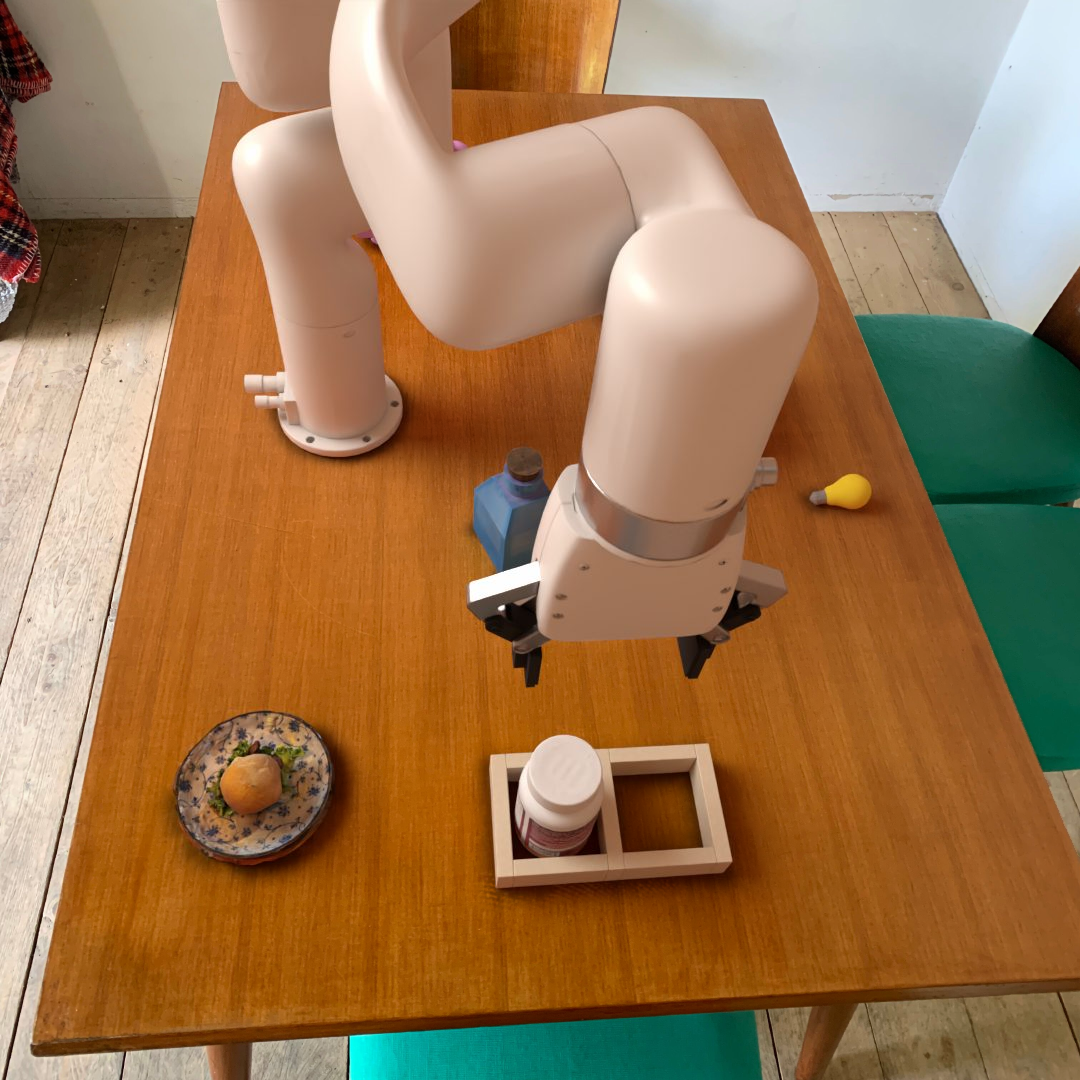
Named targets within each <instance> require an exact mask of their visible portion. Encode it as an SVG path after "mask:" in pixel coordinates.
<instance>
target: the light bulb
mask: <svg viewBox="0 0 1080 1080" xmlns="http://www.w3.org/2000/svg"><path fill="white" fill-rule="evenodd" d="M871 496H872V486H871V484H870V482H869V480H868V479H866V478H865V476H864V477H863V476H862V475H860V474H858V473H849V474H846V475H843V476H842V477H841V478H839V479H838V480H836V481H835V482H834V483H833V484H830V485H828V486H826V487H825V488H824V489H821V490H816V491H812V493H811V495H809V502H810V503H812V504H814V505H815V506H819V505H825V504H827V505H829V506H836V507H841V508H844V509H848V510H857V509H861V508H863V506H865V505H866V504H867V503H868V502H869V500H870V499H871Z"/></svg>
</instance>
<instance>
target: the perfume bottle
mask: <svg viewBox="0 0 1080 1080" xmlns="http://www.w3.org/2000/svg"><path fill="white" fill-rule="evenodd" d="M543 465H544V458H543V456H542V454H541V453H540V452H539V450H536V449H534V448H533V447H529V446H519V447H516V448H513V449H511V450H510V451H509V452H508V453H507V455H506V457H505V463H504V465H503V472H500V473H497V474H494V475H491V476H490V477H489V478H487V479H486V480H485V481H483V482H482V483H480V484H479V485H478V486H476V487H475V488H473V489H474V493H473V519H472V520H473V521H472V523H473V524H472V530H473V531H474V533H475V535H476V536H477V538H478V540H479V542H480V544H481V546H482V547H483V549H484V551H485V553H486V554H487V556H488V558H489V559H490V561H491V563H492V564H493V566H494V568H495V570H496V571H497V574H498V573H502V572H505V571H508V570H511V569H514V568H517V567H520V566H524V565H527V564H530V563H531V561H532V554H533V549H534V544H535V540H536V536H537V532H538V529H539V525H540V521H541V518H542V515H543V512H544V509H545V507H546V504H547V501H548V499H549V496H550V494H551V492H552V490H550V488H549V486H548V484H547V483H546V482H545V480H544V472H545V471H544V466H543Z"/></svg>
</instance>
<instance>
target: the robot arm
mask: <svg viewBox="0 0 1080 1080" xmlns="http://www.w3.org/2000/svg"><path fill="white" fill-rule="evenodd" d="M215 1H216V2H215V3H216V6H217V7H216V8H217V11H218V12H217V13H218V16H219V20H220V27H221V31H222V35H223V39H224V44H225V48H226V51H227V55H228V60H229V62H230V66H231V68H232V71H233V75H234V77H235V80H236V81H237V84H238V86H239V88H240V89H241V91H242V93H243V94H244V96H245V97H246V98H247V99H248V100H249V101H250V102H251V103H252V104H254V105H255V106H257V107H259V108H260V109H263V110H266V111H269V112H276V113H294V112H300V113H296V114H290V115H287V116H283V117H280V118H276V119H272V120H270V121H267V122H265V123H262V124H260V125H258V126H256V127H254V128H253V129H250V130H249V131H248V132H246V134H245V135H243V136H242V137H241V138H240V140H239V141H238V142H237V143H236V145H235V147H234V150H233V153H232V159H231V171H232V176H233V181H234V185H235V189H236V192H237V195H238V198H239V200H240V203H241V205H242V208H243V211H244V213H245V216H246V218H247V221H248V223H249V225H250V229H251V231H252V233H253V234H252V235H253V236H254V239H255V242H256V245H257V248H258V251H259V252H258V253H259V255H260V259H261V262H262V265H263V270H264V274H265V278H266V283H267V289H268V293H269V297H270V303H271V307H272V312H273V313H272V314H273V317H274V323H275V327H276V332H277V337H278V342H279V346H280V351H281V357H282V362H283V366H284V371H277V372H276V375H265V374H245V375H244V378H243V384H244V386H243V387H244V392H245V394H247V395H249V394H251V395H252V394H255V396H254V406H255V410H269V409H277V415H278V416H277V417H278V420H279V424H280V427H281V429H282V431H283V433H284V434H285V435H286V437H287V438H288V439H289V440H290V441H291V442H292V443H293V444H294V445H296V446H297V447H299V448H300V449H302V450H305V451H307V452H309V453H312V454H315V455H318V456H322V457H330V458H345V457H352V456H353V457H354V456H358V455H361V454H365V453H368V452H370V451H372V450H374V449H377V448H378V447H380V446H382V445H383V444H384V443H385V442H387V441H388V440H389V439H390V438H391V437H392V436H393V435H394V434H395V433H396V431H397V429H398V428H399V426H400V424H401V421H402V418H403V410H404V407H403V397H402V395H401V391H400V389H399V387H398V386H397V385H396V383H395V382H394V380H393V379H392V378H390V377H389V376H388V375H387V374H386V372H385V358H384V346H383V345H384V344H383V334H382V321H381V312H380V311H381V310H380V298H379V285H378V276H377V272H376V269H375V266H374V264H373V262H372V261H373V260H372V259H371V258H370V255H368V253H367V251H366V250H365V249H364V248H363V247H362V245H360V243H358V242H357V241H356V240H355V239H354V238H353V236H357V234H359V233H362V232H366V231H368V230H370V229H371V230H372V232H373V234H374V236H375V239H376V241H377V243H378V244H377V245H378V247H379V250H380V252H381V255H382V256H383V258H384V260H385V263H386V265H387V267H388V268H389V271H390V274H391V275H392V277H393V279H394V281H395V283H396V286H397V287H398V290H399V291H400V292H401V294H402V296H403V298H404V300H405V302H406V303H407V305H408V307H409V309H410V310H411V311H412V312H413V314H414V315H415V317H416V319H418V321H419V322H420V323H421V324H422V326H423V327H424V328H425V329H426V331H428V332H429V333H430V334H431V335H432V336H433V337H435V338H436V339H437V340H439V341H440V342H442V343H443V344H446V345H447V346H450V347H453V348H456V349H459V350H463V351H469V352H471V351H472V352H482V351H488V350H495V349H498V348H501V347H504V346H508V345H511V344H514V343H518V342H521V341H524V340H528V339H530V338H533V337H537V336H540V335H543V334H545V333H548V332H551V331H554V330H557V329H561V328H563V327H566V326H569V325H572V324H575V323H578V322H580V321H583V320H587V319H590V318H592V317H596V316H599V315H601V314H602V313H604V316H602V323H601V327H600V335H599V340H598V347H597V354H596V357H595V365H594V372H593V377H592V383H591V388H590V394H589V398H588V399H589V400H588V405H587V412H586V416H585V423H584V429H583V435H582V440H581V447H580V453H579V459H578V463H575V464H570V465H567V466H566V467H565V468H564V469H563V470H562V472H561V473H560V475H559V477H558V478H557V480H556V482H555V484H554V486H553V488H552V490H551V494H550V496H549V499H548V501H547V504H546V507H545V509H544V512H543V515H542V518H541V521H540V525H539V529H538V532H537V536H536V540H535V544H534V549H533V554H532V561H531V563H530V564H527V565H524V566H520V567H517V568H514V569H511V570H508V571H505V572H502V573H498V572H497V573H496V574H493V575H490V576H486V577H483V578H480V579H477V580H473V581H471V582H469V583H467V584H466V585H465V601H466V602H465V603H466V608H467V610H468V611H470V612H471V614H473V615H474V617H476V619H477V620H478V621H482V622H483V624H484V629H485V631H486V632H488V633H491V634H493V635H495V636H497V637H499V638H501V639H503V640H506V641H508V642H509V643H511V657H512V659H511V660H512V667H513V669H523V674H524V684H525V688H527V689H528V688H535V687H536V686H537V685H539V680H540V674H541V668H542V662H543V648H542V646H543V645H545V644H547V643H549V642H550V641H552V640H553V641H557V642H570V643H571V642H574V643H575V642H605V641H626V640H627V641H628V640H630V641H631V640H647V639H666V638H676V641H677V645H678V651H679V656H680V661H681V665H682V670H683V675H684V677H685V678H687V679H688V680H697V679H699V677H700V674H701V672H702V670H703V669H704V666H705V664H706V662H707V659H711V657H712V655H713V653H714V651H715V649H716V646H717V645H722V644H725V643H727V642H729V641H730V640H731V631H733V630H735V629H738V628H740V627H742V626H744V625H747V624H749V623H752V622H755V621H756V620H758V619H759V618H760V617H761V616H762V611H761V610H763V609H768V608H769V607H771V606H772V605H773V604H775V603H777V602H778V601H779V600H781V599H782V598H783V597H785V596H787V595H788V593H789V590H788V586H787V583H786V580H785V577H784V573H783V571H782V570H780V569H777V568H775V567H770V566H767V565H764V564H760V563H758V562H754V561H751V560H747V559H745V558H743V556H744V549H745V543H746V534H747V525H748V524H747V523H748V522H747V521H748V506H747V500H748V497H749V496H750V494H751V493H753V492H755V491H757V490H759V489H761V487H774V486H776V485H777V481H778V478H779V467H778V462H777V460H776V458H775V457H762V455H763V453H764V451H765V448H766V446H767V444H768V441H769V439H770V437H771V434H772V432H773V430H774V428H775V427H774V426H775V424H776V422H777V419H778V417H779V415H780V412H781V410H782V407H783V404H784V403H785V400H786V397H787V395H788V393H789V390H790V388H791V385H792V383H793V380H794V377H795V375H796V373H797V371H798V368H799V366H800V364H801V362H802V360H803V359H802V358H803V356H804V354H805V352H806V349H807V346H808V344H809V342H810V339H811V336H812V333H813V330H814V327H815V324H816V322H817V317H818V311H819V305H820V298H819V296H820V295H819V286H818V280H817V278H816V275H815V271H814V269H813V267H812V265H811V263H810V261H809V259H808V258H807V256H806V254H805V253H804V252H803V250H801V248H800V247H799V246H798V245H797V244H796V243H794V241H792V240H791V239H790V238H788V236H786V235H785V234H784V233H783V232H781V231H780V230H778V229H776V228H775V227H773V226H772V225H770V224H768V223H766V222H764V221H762V220H760V219H759V218H758V217H757V216H756V214H755V212H754V211H753V210H752V208H751V206H750V205H749V203H748V202H747V200H746V199H745V197H744V195H743V193H742V192H741V190H740V188H739V187H738V184H737V183H736V181H735V180H734V178H733V176H732V174H731V173H730V170H729V169H728V168H727V166H726V164H725V162H724V159H723V158H722V156H721V155H720V152H718V149H717V148H716V147H715V145H714V143H713V142H712V141H711V139H710V138H709V137H708V135H707V134H706V132H705V130H703V128H701V126H699V124H697V123H696V121H695V120H693V119H692V118H690V117H689V116H688V115H686V114H685V113H684V112H682V111H680V110H678V109H675V108H672V107H668V106H667V107H666V106H661V105H649V106H639V107H634V108H629V109H625V110H620V111H616V112H612V113H609V114H604V115H600V116H596V117H592V118H588V119H584V120H580V121H576V122H572V123H571V122H570V123H569V122H565V123H561V124H558V125H554V126H550V127H545V128H541V129H538V130H537V129H536V130H533V131H530V132H529V131H528V132H525V133H521V134H517V135H513V136H510V137H504V138H501V139H498V140H493V141H489V142H486V143H481V144H477V145H473V146H470V147H468V148H466V149H463V150H459V151H454V152H453V140H454V137H453V136H454V135H453V133H454V131H453V130H454V129H453V89H452V88H453V85H452V84H453V83H452V80H453V79H452V49H451V35H450V26H451V25H452V24H453V23H455V22H456V21H457V20H459V19H460V18H461V17H462V16H463V15H465V14H466V13H467V12H469V11H470V10H471V9H472V8H474V7H475V6H476V5H477V4H479V3H480V2H481V1H482V0H215ZM304 111H305V112H304ZM267 393H269V394H270V393H271V394H273V393H277V395H268V394H267ZM261 394H263V395H261ZM264 394H267V395H264Z"/></svg>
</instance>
